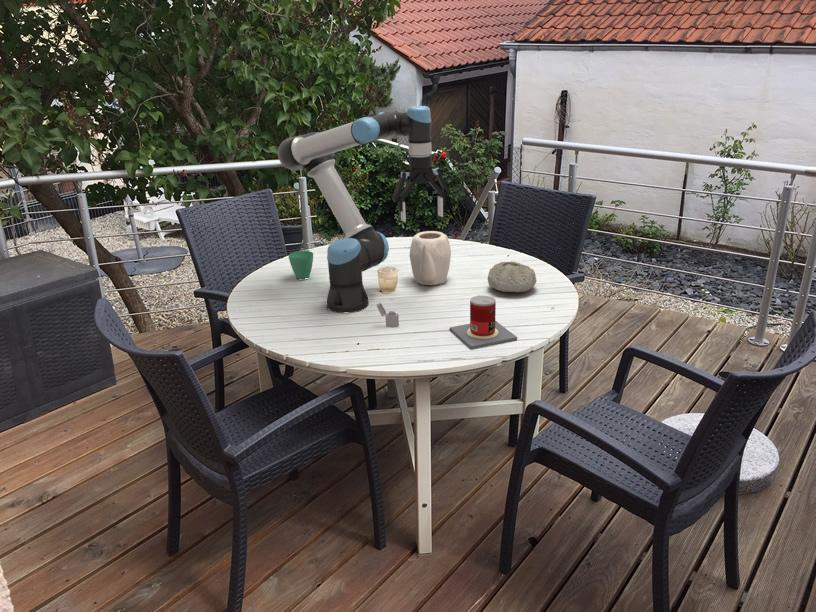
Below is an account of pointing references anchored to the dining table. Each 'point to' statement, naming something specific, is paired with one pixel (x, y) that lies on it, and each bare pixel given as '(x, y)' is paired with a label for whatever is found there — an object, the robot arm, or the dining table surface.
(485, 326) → the canned food
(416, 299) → the dining table surface
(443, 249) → the cream ceramic pot
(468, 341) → the mat
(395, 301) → the dining table surface
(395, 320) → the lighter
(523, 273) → the grey rounded rock
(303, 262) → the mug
